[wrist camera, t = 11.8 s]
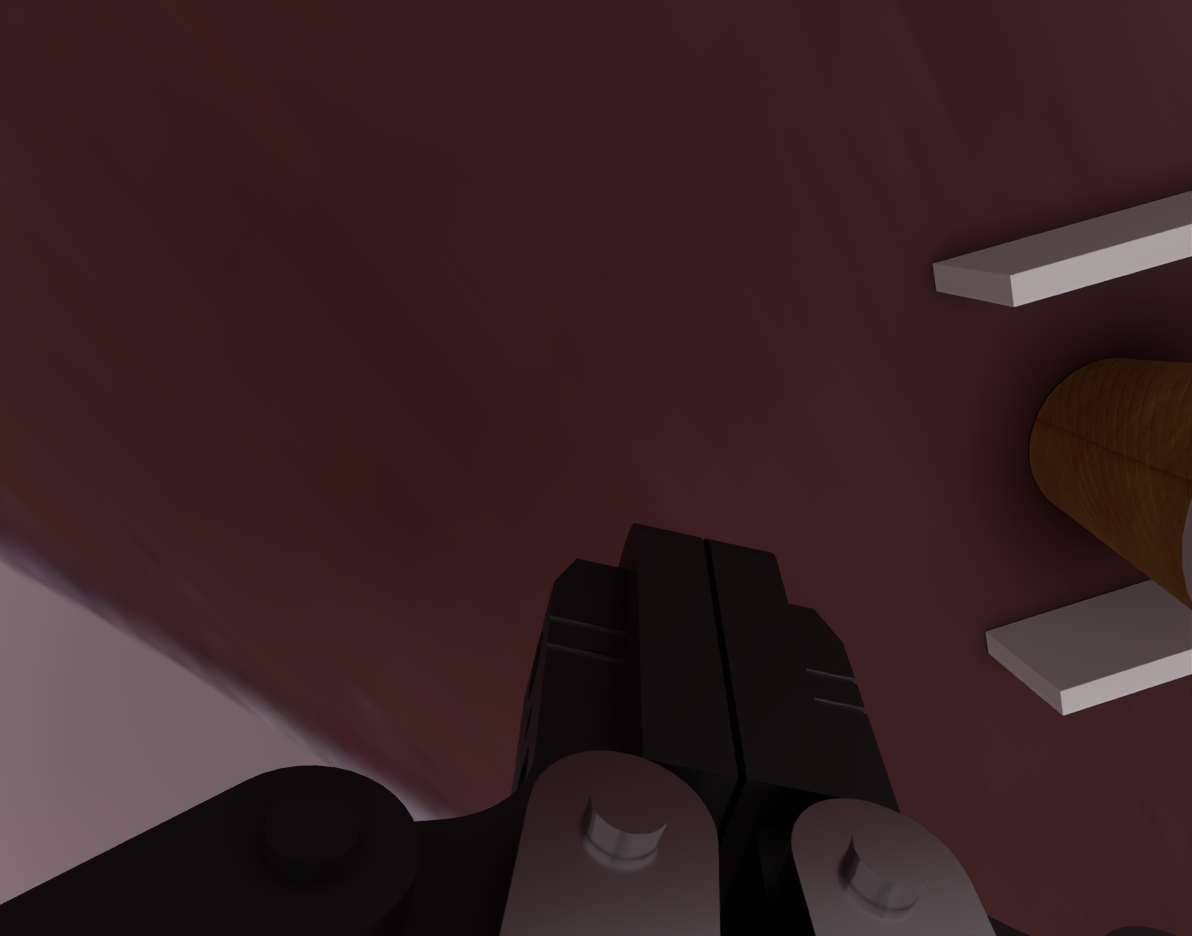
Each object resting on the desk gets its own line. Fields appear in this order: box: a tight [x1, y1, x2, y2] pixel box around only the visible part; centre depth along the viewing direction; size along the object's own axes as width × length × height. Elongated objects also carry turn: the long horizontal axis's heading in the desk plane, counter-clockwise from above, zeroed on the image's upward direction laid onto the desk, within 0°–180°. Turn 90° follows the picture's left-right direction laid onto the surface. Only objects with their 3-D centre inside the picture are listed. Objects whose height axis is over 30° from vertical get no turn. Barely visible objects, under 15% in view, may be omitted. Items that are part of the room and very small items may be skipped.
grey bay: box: [933, 191, 1192, 715], centre depth 36 cm, size 16×15×5 cm
